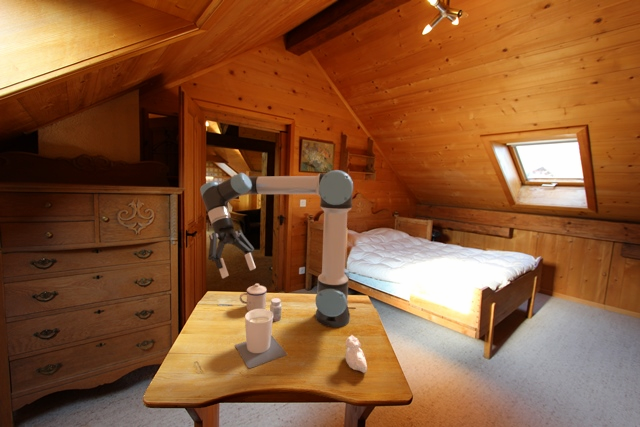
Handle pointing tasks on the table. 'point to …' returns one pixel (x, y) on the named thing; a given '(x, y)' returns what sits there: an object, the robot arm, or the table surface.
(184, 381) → the table surface
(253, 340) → the candle holder
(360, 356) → the bust
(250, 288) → the teacup with lid
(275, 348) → the gray tile
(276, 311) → the pill bottle
